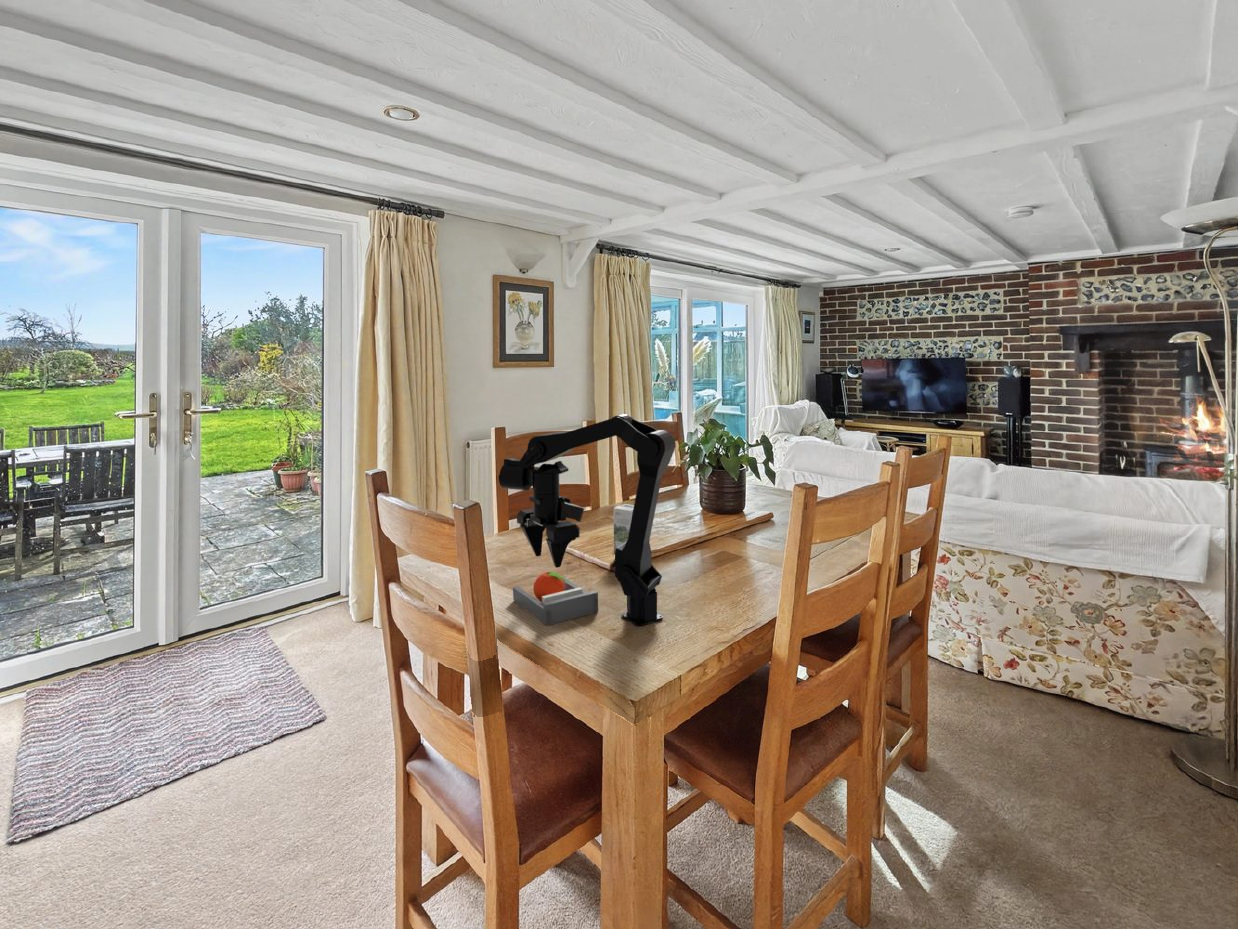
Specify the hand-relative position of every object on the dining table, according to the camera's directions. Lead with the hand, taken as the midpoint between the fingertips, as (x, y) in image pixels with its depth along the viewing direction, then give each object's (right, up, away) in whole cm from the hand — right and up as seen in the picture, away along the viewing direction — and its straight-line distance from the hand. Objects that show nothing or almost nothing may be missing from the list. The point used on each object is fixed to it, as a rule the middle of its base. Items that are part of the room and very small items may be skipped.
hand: (547, 561), depth 138 cm
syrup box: (+18, -4, +32) cm, 37 cm away
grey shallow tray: (+2, -10, -1) cm, 10 cm away
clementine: (+1, -10, +1) cm, 10 cm away
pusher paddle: (+4, -10, -3) cm, 11 cm away
